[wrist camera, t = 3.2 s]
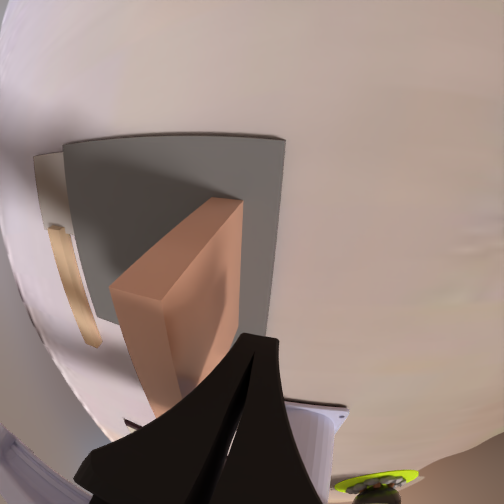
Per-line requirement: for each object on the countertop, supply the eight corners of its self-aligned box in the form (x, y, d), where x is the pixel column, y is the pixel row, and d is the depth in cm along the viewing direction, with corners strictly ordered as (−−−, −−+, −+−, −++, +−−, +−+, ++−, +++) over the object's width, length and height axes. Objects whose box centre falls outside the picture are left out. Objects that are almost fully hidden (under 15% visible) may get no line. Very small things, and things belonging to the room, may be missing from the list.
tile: (238, 326, 17) (194, 439, 10) (211, 321, 17) (158, 427, 10) (243, 200, 13) (161, 300, 6) (208, 196, 13) (104, 285, 6)
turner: (113, 346, 22) (108, 353, 22) (81, 332, 23) (76, 338, 22) (70, 150, 14) (59, 154, 13) (37, 155, 15) (27, 158, 14)
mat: (262, 357, 18) (261, 362, 18) (100, 313, 21) (97, 317, 20) (285, 140, 12) (284, 140, 11) (67, 143, 14) (62, 145, 14)
